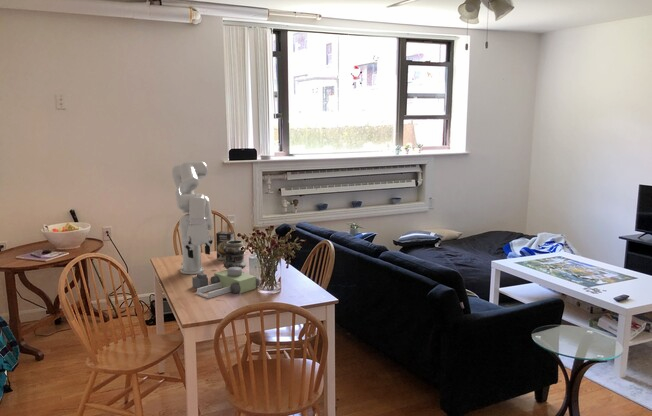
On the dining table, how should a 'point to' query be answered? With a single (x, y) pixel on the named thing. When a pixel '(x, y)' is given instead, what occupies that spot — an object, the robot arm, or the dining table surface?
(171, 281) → the dining table surface
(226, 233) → the coffee box
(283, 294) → the dining table surface
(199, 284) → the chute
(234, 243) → the apothecary jar
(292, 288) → the dining table surface
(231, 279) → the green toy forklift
